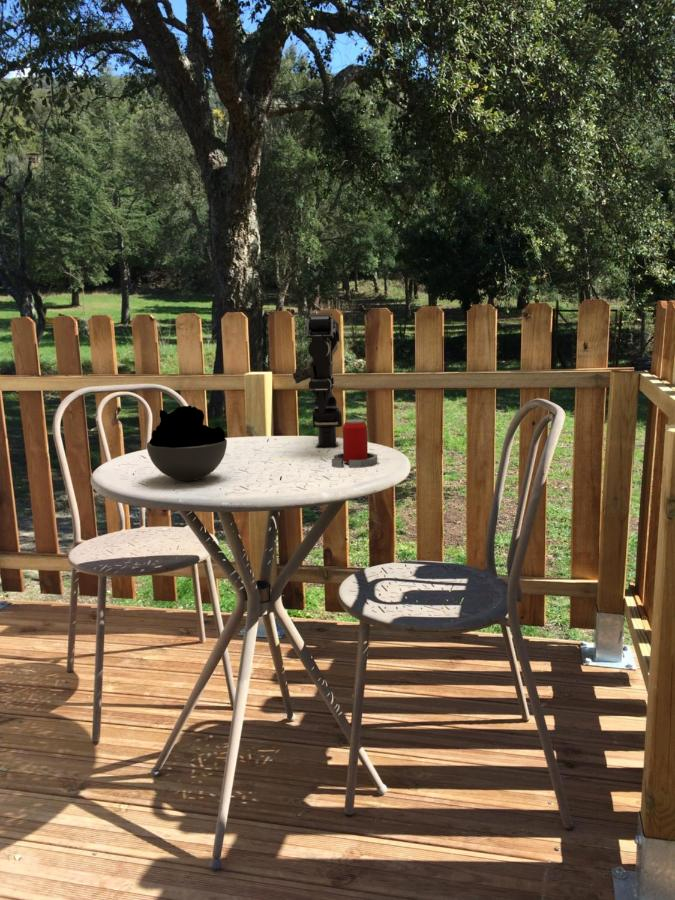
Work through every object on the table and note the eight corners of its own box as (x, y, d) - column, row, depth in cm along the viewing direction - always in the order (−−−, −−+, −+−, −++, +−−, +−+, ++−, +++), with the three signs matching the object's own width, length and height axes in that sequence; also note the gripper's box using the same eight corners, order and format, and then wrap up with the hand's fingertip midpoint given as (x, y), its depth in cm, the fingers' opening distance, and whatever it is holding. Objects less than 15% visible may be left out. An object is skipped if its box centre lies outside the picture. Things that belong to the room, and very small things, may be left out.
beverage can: (357, 460, 216) (356, 418, 213) (372, 463, 210) (372, 420, 208) (338, 463, 212) (337, 420, 210) (353, 466, 206) (352, 422, 204)
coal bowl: (220, 469, 206) (216, 400, 203) (236, 483, 188) (232, 408, 184) (144, 476, 199) (140, 405, 196) (154, 492, 181) (148, 413, 178)
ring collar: (334, 459, 217) (334, 452, 217) (377, 458, 216) (377, 452, 216) (331, 467, 205) (331, 460, 205) (377, 467, 204) (377, 459, 204)
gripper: (297, 356, 231) (298, 407, 233) (290, 360, 212) (292, 415, 215) (333, 356, 230) (334, 407, 233) (329, 359, 212) (331, 414, 214)
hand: (322, 410), depth 224 cm, fingers open, 9 cm apart
